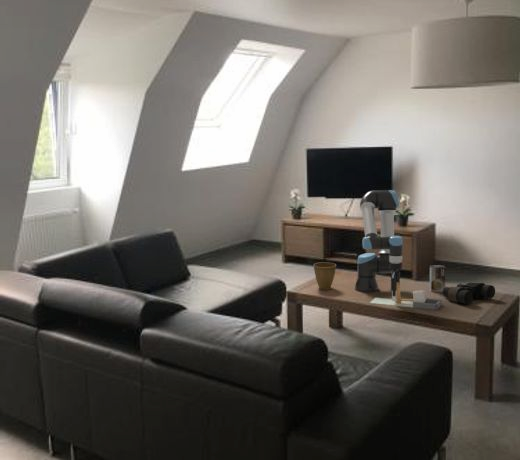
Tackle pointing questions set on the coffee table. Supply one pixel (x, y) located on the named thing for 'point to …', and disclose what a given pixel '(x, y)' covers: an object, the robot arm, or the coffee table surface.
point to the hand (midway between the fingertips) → (395, 300)
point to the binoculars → (468, 292)
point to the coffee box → (437, 278)
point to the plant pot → (324, 274)
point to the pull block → (417, 296)
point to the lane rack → (410, 303)
